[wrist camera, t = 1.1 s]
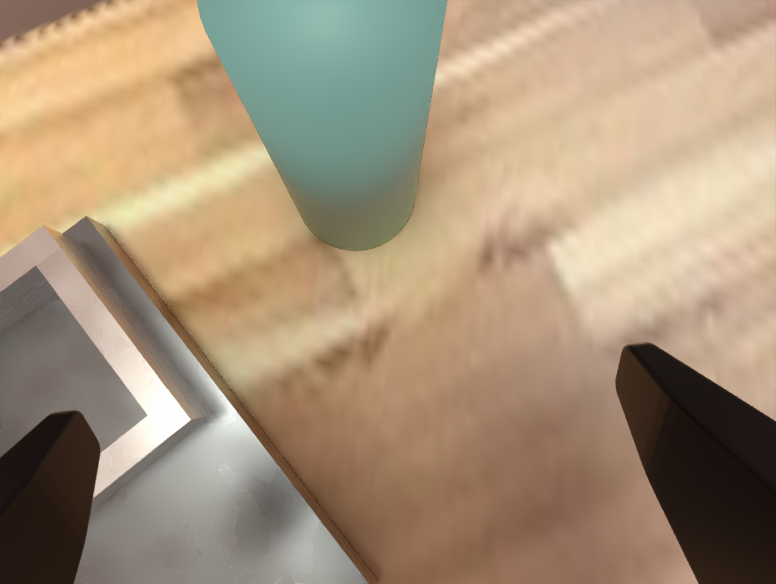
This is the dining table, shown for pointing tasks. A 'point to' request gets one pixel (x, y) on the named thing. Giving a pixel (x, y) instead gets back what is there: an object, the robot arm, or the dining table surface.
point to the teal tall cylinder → (336, 102)
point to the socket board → (152, 428)
